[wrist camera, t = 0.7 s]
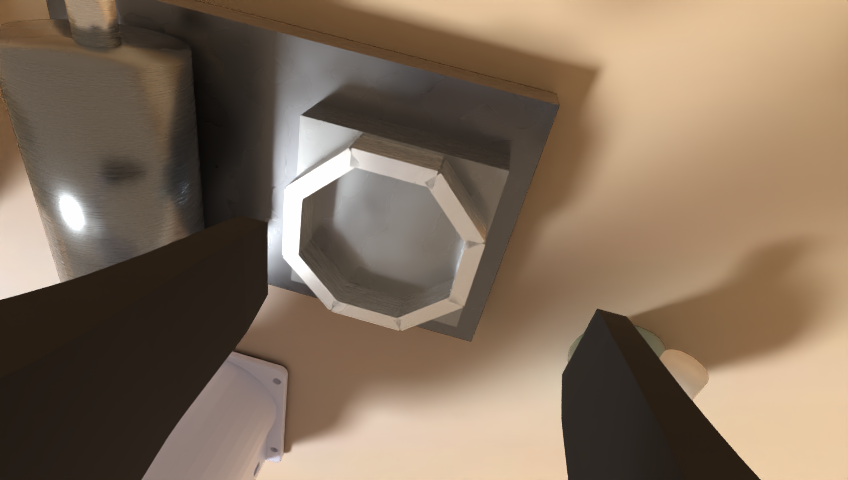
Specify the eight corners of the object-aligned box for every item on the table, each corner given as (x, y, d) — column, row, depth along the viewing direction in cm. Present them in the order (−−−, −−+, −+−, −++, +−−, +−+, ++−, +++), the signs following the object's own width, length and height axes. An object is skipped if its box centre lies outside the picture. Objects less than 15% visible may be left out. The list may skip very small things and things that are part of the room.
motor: (473, 319, 22) (458, 439, 16) (123, 221, 23) (-3, 304, 17) (559, 84, 16) (579, 151, 10) (73, -41, 16) (-148, -41, 11)
